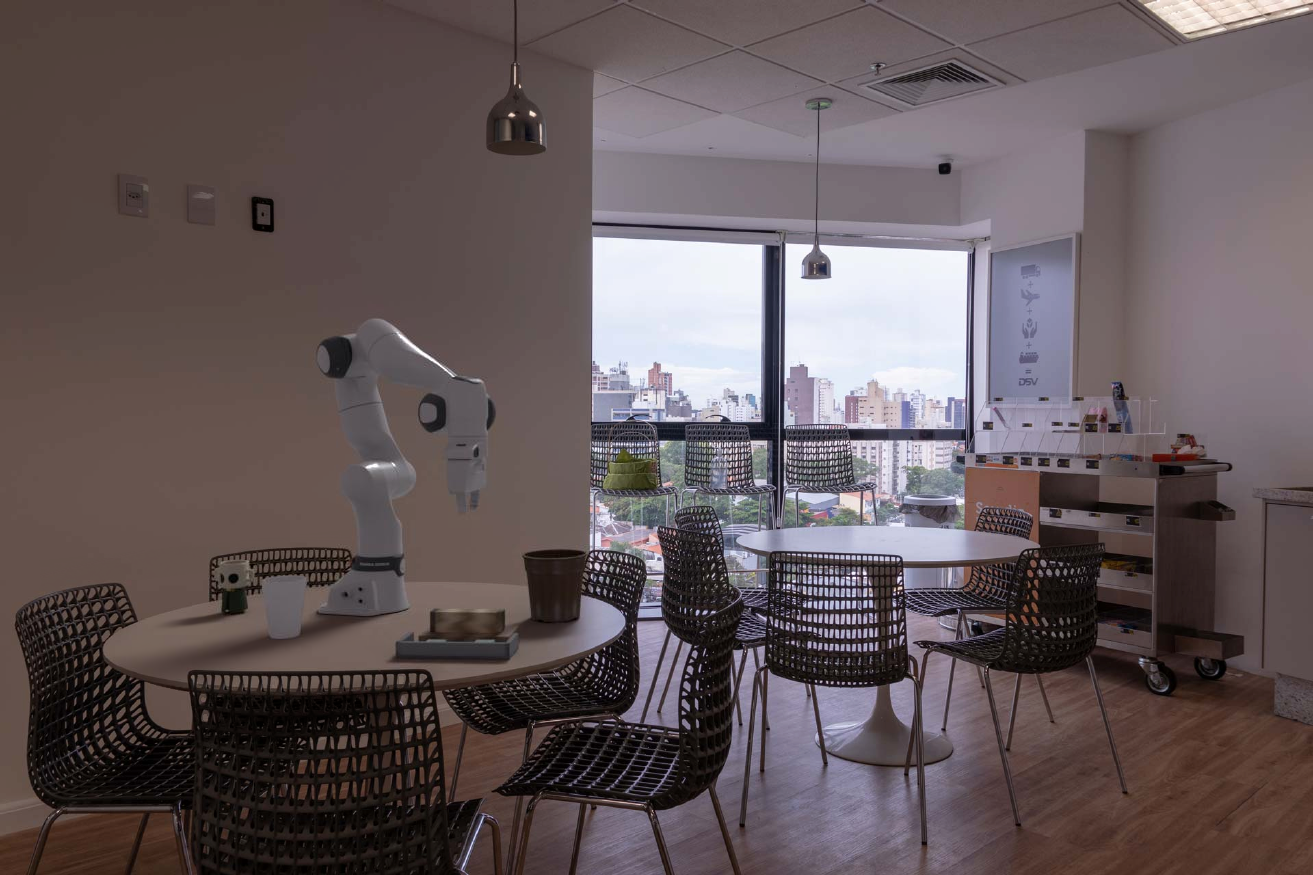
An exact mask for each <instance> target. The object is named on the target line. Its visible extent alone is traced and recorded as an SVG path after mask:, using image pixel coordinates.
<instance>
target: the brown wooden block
mask: <svg viewBox="0 0 1313 875" xmlns="http://www.w3.org/2000/svg"><path fill="white" fill-rule="evenodd" d="M505 626H506V609H505V608H503V609H502V608H433V609H432V610H431V611H429V627H430V632H461V633H502V632H503V631H504V630H505Z"/></svg>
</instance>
